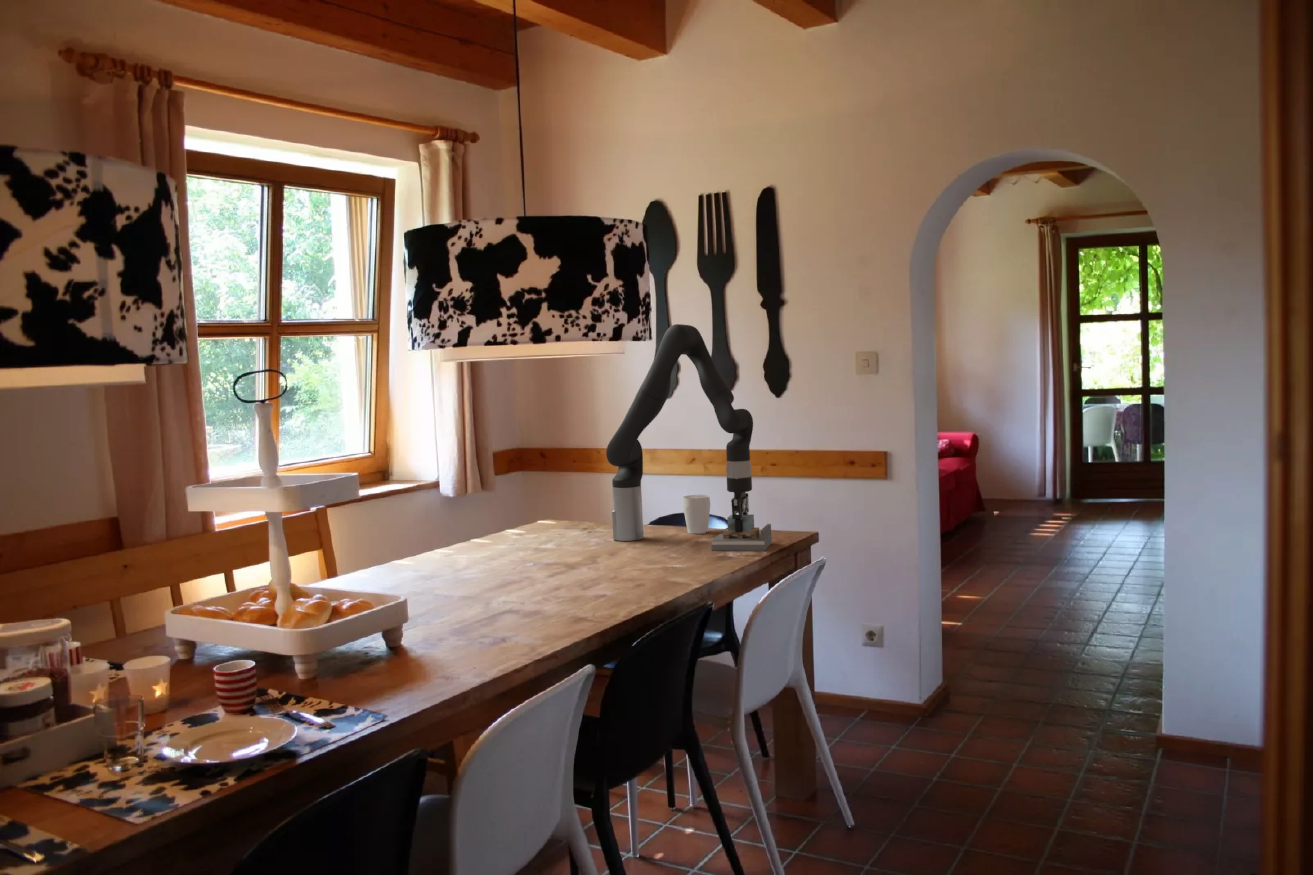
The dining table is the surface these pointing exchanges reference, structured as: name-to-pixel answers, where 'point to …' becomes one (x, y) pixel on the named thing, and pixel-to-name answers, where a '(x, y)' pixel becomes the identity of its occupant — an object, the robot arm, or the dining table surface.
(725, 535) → the pallet
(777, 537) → the dining table surface
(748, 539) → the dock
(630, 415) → the robot arm
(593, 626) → the dining table surface
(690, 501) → the cup
